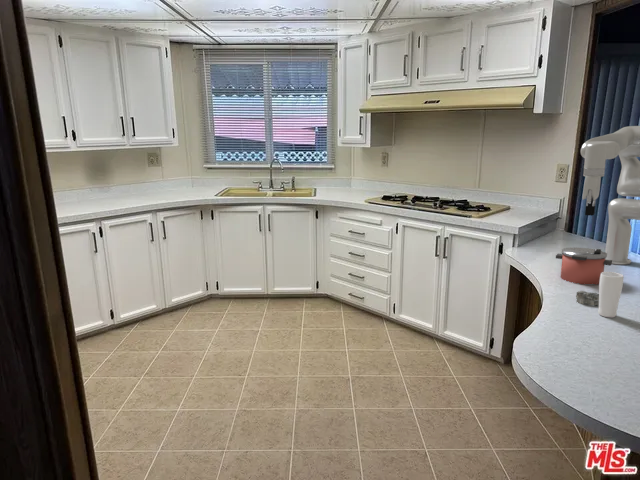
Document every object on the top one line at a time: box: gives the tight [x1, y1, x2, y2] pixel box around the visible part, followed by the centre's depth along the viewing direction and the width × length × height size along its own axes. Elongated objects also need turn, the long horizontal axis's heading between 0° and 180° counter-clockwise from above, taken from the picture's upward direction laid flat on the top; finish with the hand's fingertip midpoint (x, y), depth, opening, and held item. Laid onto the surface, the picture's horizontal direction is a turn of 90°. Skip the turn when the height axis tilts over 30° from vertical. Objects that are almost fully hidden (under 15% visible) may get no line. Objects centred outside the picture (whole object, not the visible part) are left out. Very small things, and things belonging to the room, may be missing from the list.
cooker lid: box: [561, 247, 607, 261], centre depth 188 cm, size 20×17×3 cm
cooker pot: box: [555, 253, 613, 285], centre depth 191 cm, size 18×21×11 cm
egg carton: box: [575, 290, 599, 307], centre depth 164 cm, size 11×8×4 cm
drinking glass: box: [597, 271, 624, 318], centre depth 151 cm, size 7×7×15 cm
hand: (589, 214), depth 188 cm, fingers closed
